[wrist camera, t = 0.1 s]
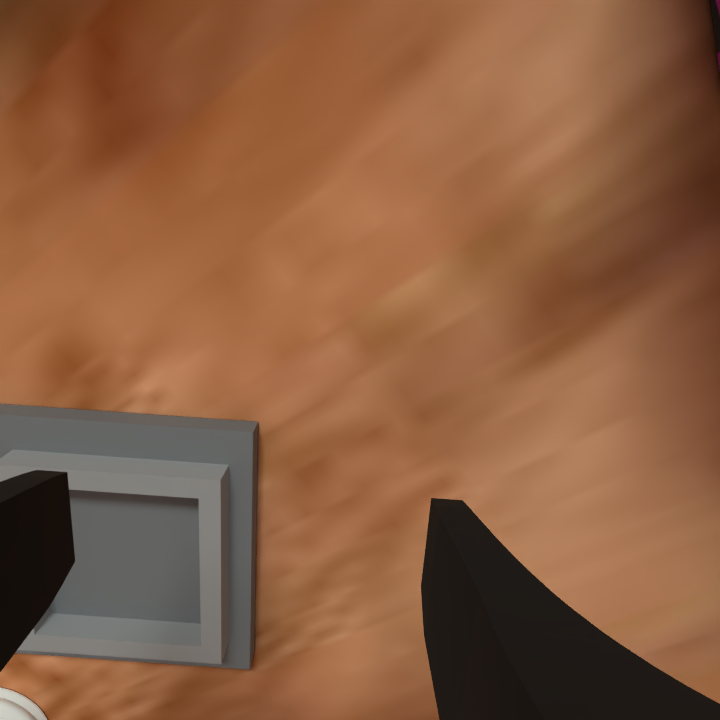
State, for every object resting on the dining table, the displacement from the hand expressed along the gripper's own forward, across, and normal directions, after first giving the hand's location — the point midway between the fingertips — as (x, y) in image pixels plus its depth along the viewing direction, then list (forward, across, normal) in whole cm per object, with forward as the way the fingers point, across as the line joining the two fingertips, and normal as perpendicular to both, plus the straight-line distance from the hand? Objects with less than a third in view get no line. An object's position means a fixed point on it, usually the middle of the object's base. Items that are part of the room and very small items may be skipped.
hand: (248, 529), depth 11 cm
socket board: (+10, +12, +8) cm, 18 cm away
